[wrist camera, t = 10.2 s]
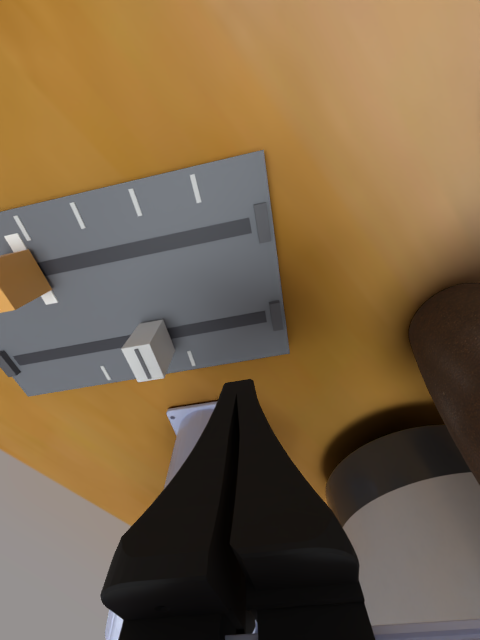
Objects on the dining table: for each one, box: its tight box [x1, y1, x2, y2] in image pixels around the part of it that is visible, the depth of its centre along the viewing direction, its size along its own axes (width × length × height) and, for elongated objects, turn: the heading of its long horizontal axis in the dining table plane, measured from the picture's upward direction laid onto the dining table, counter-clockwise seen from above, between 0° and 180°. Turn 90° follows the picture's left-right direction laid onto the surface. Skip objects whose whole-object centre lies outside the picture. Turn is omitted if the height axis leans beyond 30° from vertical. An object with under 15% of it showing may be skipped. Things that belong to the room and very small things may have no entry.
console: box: [0, 150, 290, 396], centre depth 20 cm, size 15×25×2 cm, turn 101°
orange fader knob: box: [0, 249, 52, 313], centre depth 16 cm, size 3×2×4 cm, turn 11°
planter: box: [326, 425, 480, 626], centre depth 23 cm, size 19×19×18 cm
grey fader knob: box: [121, 319, 175, 382], centre depth 19 cm, size 3×2×4 cm, turn 11°
